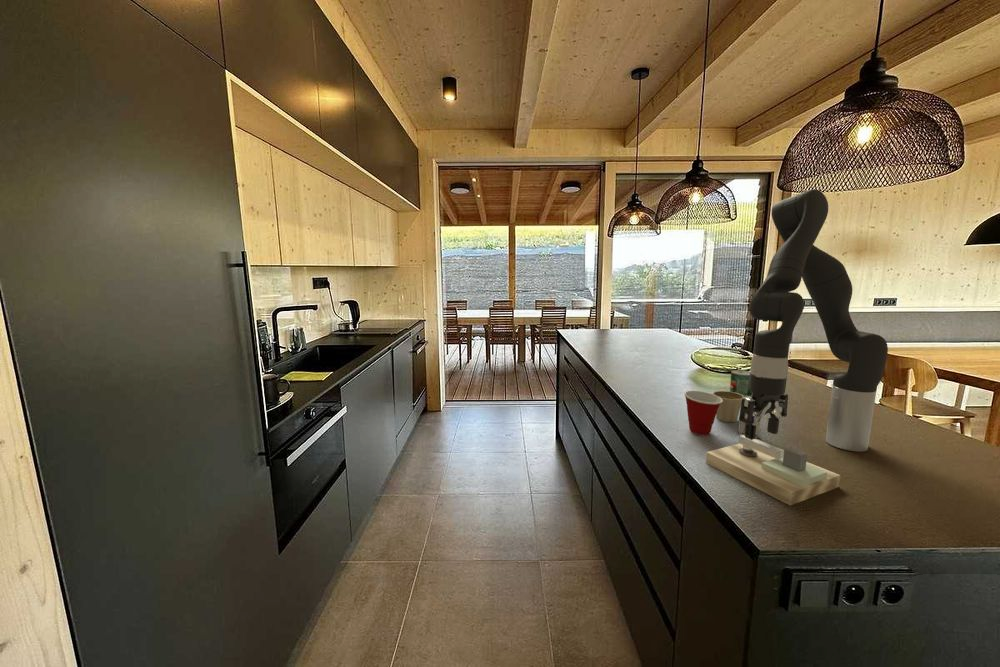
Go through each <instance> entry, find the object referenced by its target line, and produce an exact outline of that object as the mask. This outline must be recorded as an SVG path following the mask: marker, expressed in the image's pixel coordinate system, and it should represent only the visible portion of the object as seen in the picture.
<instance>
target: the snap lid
mask: <svg viewBox="0 0 1000 667" xmlns="http://www.w3.org/2000/svg"><path fill="white" fill-rule="evenodd" d="M783 450H784V456H783V458H781V459H773V460H769V461H766V462H763V463H762V469H764V470H766V471H768V472H770V473H773V474H775V475H777V476H779V477H781V478H784V479H786V480H788V481H790V482H792V483H795V484H797V485H799V486H801V487H803V486H806V485H809V484H812V483H815V482H817V481H820V480H823V479H826V478H827V472H825V471H823V470H820V469H818V468H816V467H813V466H811V465H808V464H806V462H807V459H808V453H807V452H804V451H802V450H799V449H797V448H793V447H787V448H784V449H783Z"/></svg>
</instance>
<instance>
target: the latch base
mask: <svg viewBox="0 0 1000 667" xmlns="http://www.w3.org/2000/svg"><path fill="white" fill-rule="evenodd" d="M773 459H776V458H774V457H771V456H769V455H766V454H764V453H762V452H759V451H757V450H754V452H753V453H748V452H745V451H743V445H742V444H740V443H739V442H738V443H736V444H733V445H728V446H725V447H721V448H716V449H713V450H710V451H706V456H705V463H706V464H708V465H710V466H712V467H713V468H715V469H718V470H719V471H721V472H724V473H725V474H727V475H730V476H732V477H733V478H735V479H737V480H739V481H741V482H743V483H745V484H746V485H749V486H751V487H753V488H755V489H757V490H759V491H760V492H762V493H764V494H766V495H769V496H771V497H773V498H775V499H776V500H779V501H781V502H782V503H785V504H787V505H789V506H793V505H795V504H798V503H801V502H803V501H806V500H809V499H810V498H811V499H812V498H813V497H816V496H819V495H821V494H824V493H827V492H830V491H833V490H835V489H838V488H839V487H840V482H841V474H839V473H836V472H834V471H831V470H828V469H826V468H823V467H821V466H818V465H815V464H813V463H810V462H808V461H806V464H808V465H811V466H813V467H816V468H818V469H820V470H823V471H825V472H827V478H826V479H823V480H820V481H817V482H815V483H812V484H809V485H806V486H803V487H801V486H799V485H797V484H795V483H792V482H790V481H788V480H786V479H784V478H781V477H779V476H777V475H775V474H773V473H770V472H768V471H766V470H764V469H762V463H763V462H766V461H769V460H773Z"/></svg>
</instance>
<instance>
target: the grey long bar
mask: <svg viewBox="0 0 1000 667" xmlns="http://www.w3.org/2000/svg"><path fill="white" fill-rule="evenodd" d="M739 443H740V444H742V445H743V451H745V452H748V453H753V452H754V450H757V451H759V452H762V453H764V454H766V455H769V456H771V457H774V458H776V459H781V458H783V456H784V449H782V448H780V447H778V446H775V445H773V444H770V443H767V442H765V441H762V440H760V439H758V438H756V439H753V440H751V439H748V438H746V437H745V435H739V438H738V444H739Z"/></svg>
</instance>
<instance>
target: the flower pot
mask: <svg viewBox="0 0 1000 667" xmlns="http://www.w3.org/2000/svg"><path fill="white" fill-rule="evenodd" d="M712 394H714V395H716V396H718V397H720V398H721V399H723V402H722V403H721V404H720V406H719V408H718V410H717V413H716V416H715V419H718V420H719V421H721V422H726V423H736V422H737V421H738V420H739V415H740V409H741V399H742V398H743V395H741V394H739V393H735V392H730V390H729V391H727V390H717V391H713V392H712Z"/></svg>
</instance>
